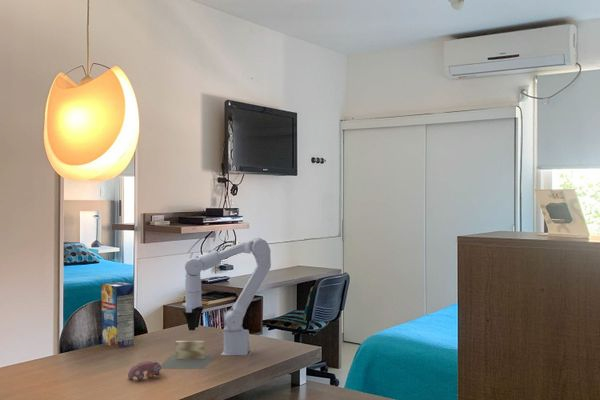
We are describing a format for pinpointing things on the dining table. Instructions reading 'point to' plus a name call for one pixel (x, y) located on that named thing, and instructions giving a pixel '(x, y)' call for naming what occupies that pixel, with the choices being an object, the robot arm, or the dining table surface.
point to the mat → (186, 363)
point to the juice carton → (118, 314)
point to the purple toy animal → (144, 369)
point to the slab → (190, 350)
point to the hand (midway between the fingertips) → (193, 328)
